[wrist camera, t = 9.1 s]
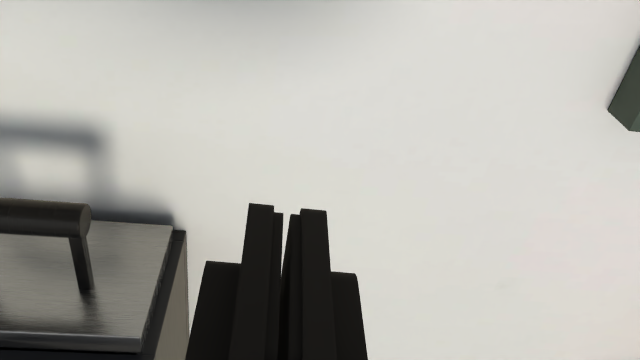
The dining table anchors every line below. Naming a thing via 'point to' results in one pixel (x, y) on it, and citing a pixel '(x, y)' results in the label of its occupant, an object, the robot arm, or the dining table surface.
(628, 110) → the control block
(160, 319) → the cabinet
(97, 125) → the dining table surface
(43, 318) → the drawer
